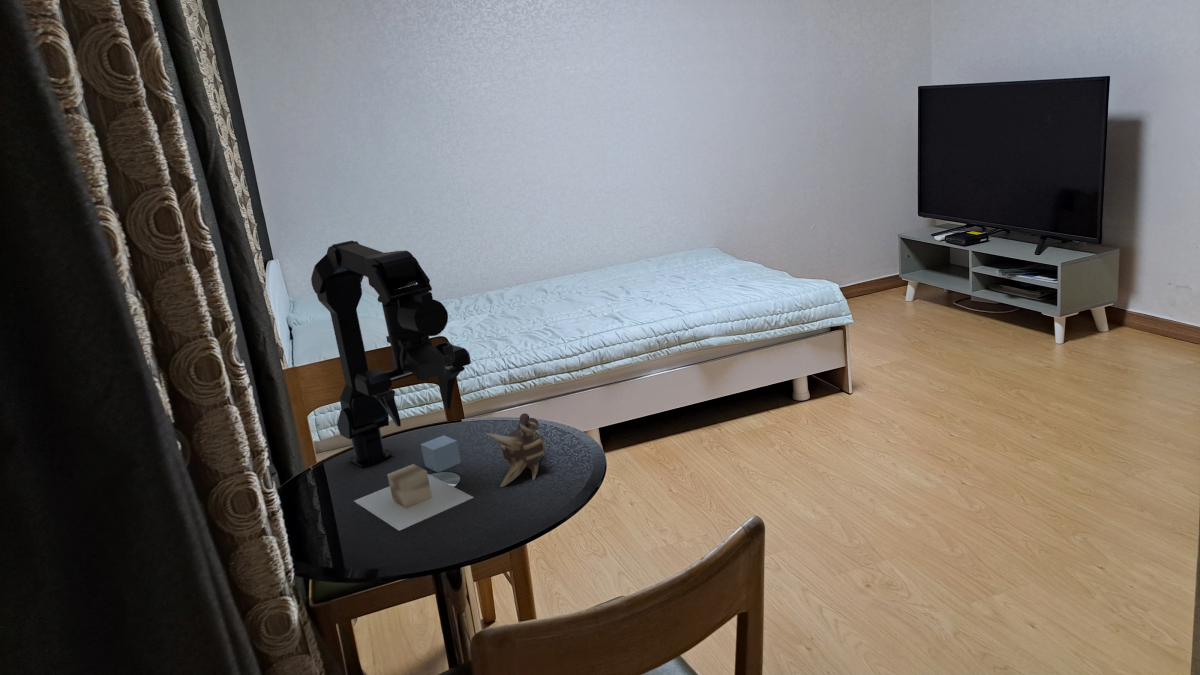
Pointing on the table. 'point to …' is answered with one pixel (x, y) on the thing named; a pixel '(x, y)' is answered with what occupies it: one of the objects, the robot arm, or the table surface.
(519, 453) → the toy
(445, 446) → the blue block
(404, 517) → the board
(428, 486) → the maple block
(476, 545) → the table surface
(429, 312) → the robot arm
